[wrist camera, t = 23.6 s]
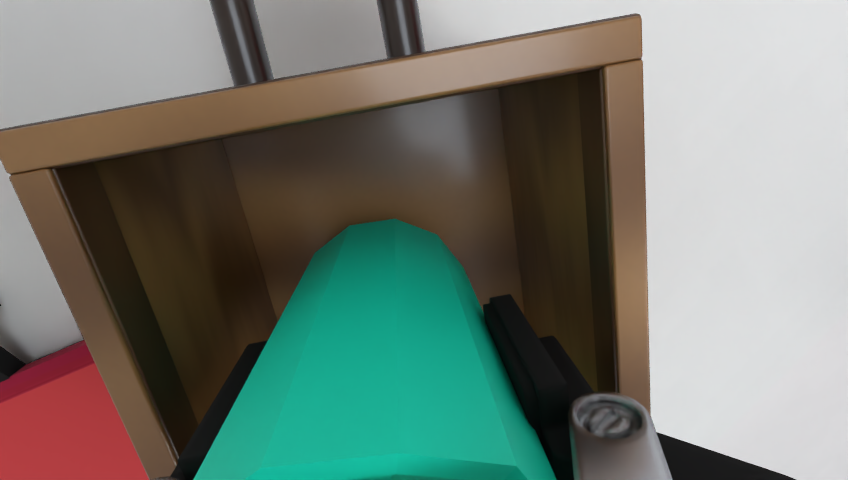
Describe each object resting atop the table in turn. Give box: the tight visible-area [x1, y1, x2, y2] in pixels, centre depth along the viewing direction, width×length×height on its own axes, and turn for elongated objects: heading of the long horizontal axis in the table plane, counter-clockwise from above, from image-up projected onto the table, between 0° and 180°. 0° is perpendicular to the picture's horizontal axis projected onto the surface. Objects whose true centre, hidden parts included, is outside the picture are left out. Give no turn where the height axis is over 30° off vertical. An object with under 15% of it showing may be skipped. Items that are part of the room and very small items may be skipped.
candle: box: [193, 219, 557, 480], centre depth 10 cm, size 6×6×12 cm
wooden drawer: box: [0, 0, 650, 480], centre depth 14 cm, size 20×13×10 cm, turn 10°
